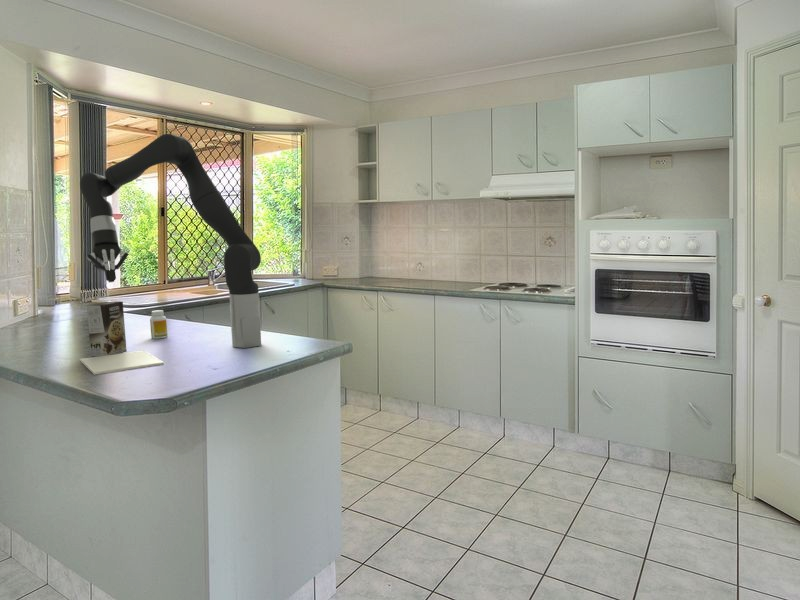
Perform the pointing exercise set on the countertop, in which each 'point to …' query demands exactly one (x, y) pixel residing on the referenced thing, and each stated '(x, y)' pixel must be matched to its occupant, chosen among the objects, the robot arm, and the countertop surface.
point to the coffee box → (106, 328)
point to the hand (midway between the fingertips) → (111, 281)
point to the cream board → (120, 362)
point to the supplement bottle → (158, 325)
